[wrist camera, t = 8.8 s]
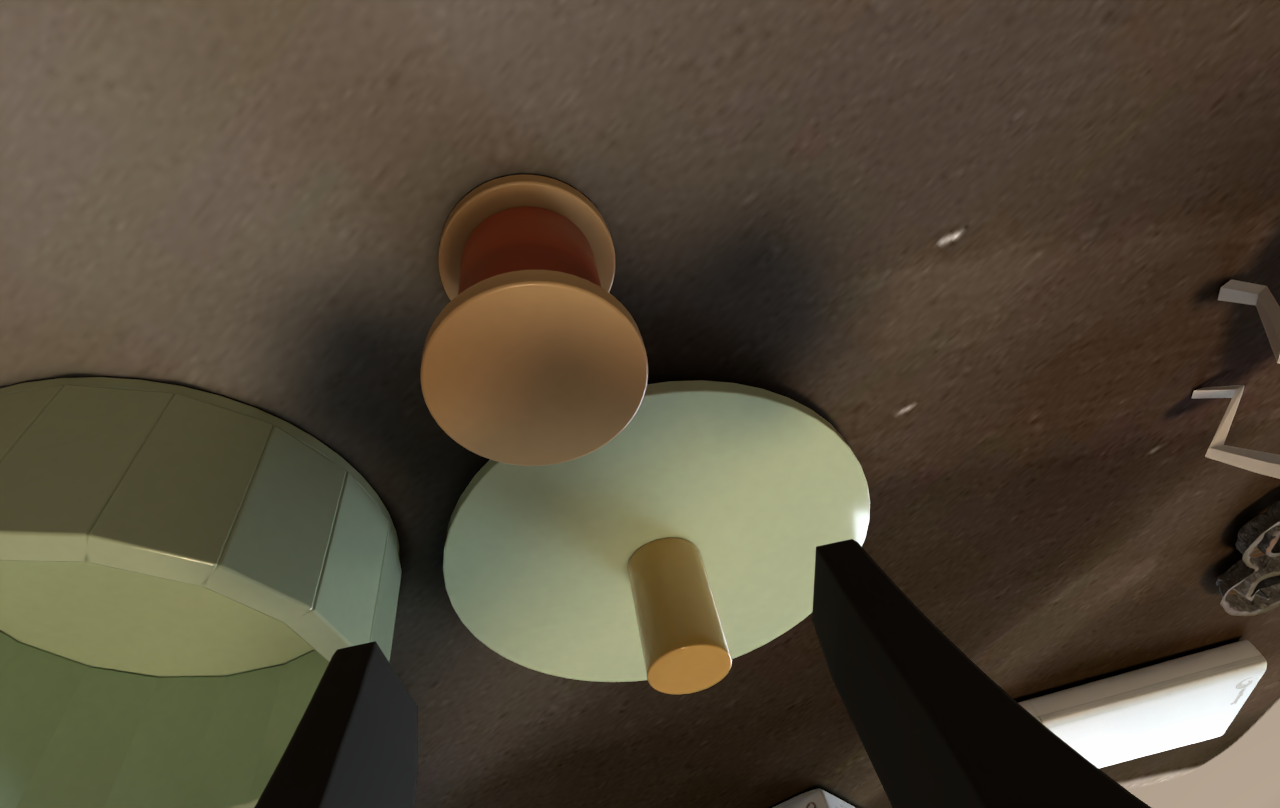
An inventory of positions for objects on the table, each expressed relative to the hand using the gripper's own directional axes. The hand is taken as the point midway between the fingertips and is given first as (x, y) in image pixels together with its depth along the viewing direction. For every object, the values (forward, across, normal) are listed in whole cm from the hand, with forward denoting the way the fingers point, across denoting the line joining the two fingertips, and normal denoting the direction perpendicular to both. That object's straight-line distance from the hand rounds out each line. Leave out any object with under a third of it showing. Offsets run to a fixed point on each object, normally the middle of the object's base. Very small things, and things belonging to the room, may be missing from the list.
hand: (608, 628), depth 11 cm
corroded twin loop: (+8, -27, +16) cm, 32 cm away
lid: (+8, -2, +8) cm, 11 cm away
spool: (+8, 0, -3) cm, 9 cm away
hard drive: (+8, -24, +29) cm, 38 cm away
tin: (+8, +12, +4) cm, 16 cm away
